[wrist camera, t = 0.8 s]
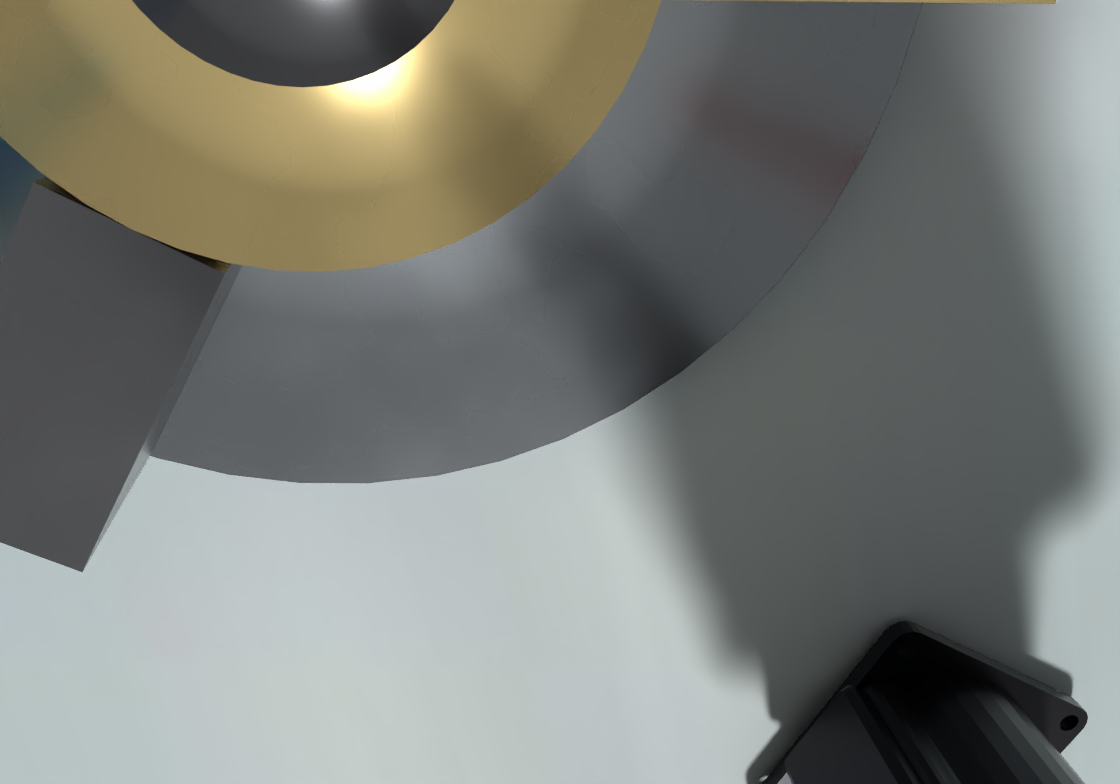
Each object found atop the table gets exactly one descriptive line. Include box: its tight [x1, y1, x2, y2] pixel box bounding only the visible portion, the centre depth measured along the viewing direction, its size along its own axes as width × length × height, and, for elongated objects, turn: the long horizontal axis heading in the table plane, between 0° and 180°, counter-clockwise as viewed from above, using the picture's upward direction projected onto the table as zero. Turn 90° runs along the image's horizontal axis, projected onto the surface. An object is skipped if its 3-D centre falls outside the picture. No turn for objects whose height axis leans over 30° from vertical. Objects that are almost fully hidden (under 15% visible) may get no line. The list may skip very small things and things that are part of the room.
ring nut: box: [0, 0, 1056, 572], centre depth 13 cm, size 18×15×4 cm
